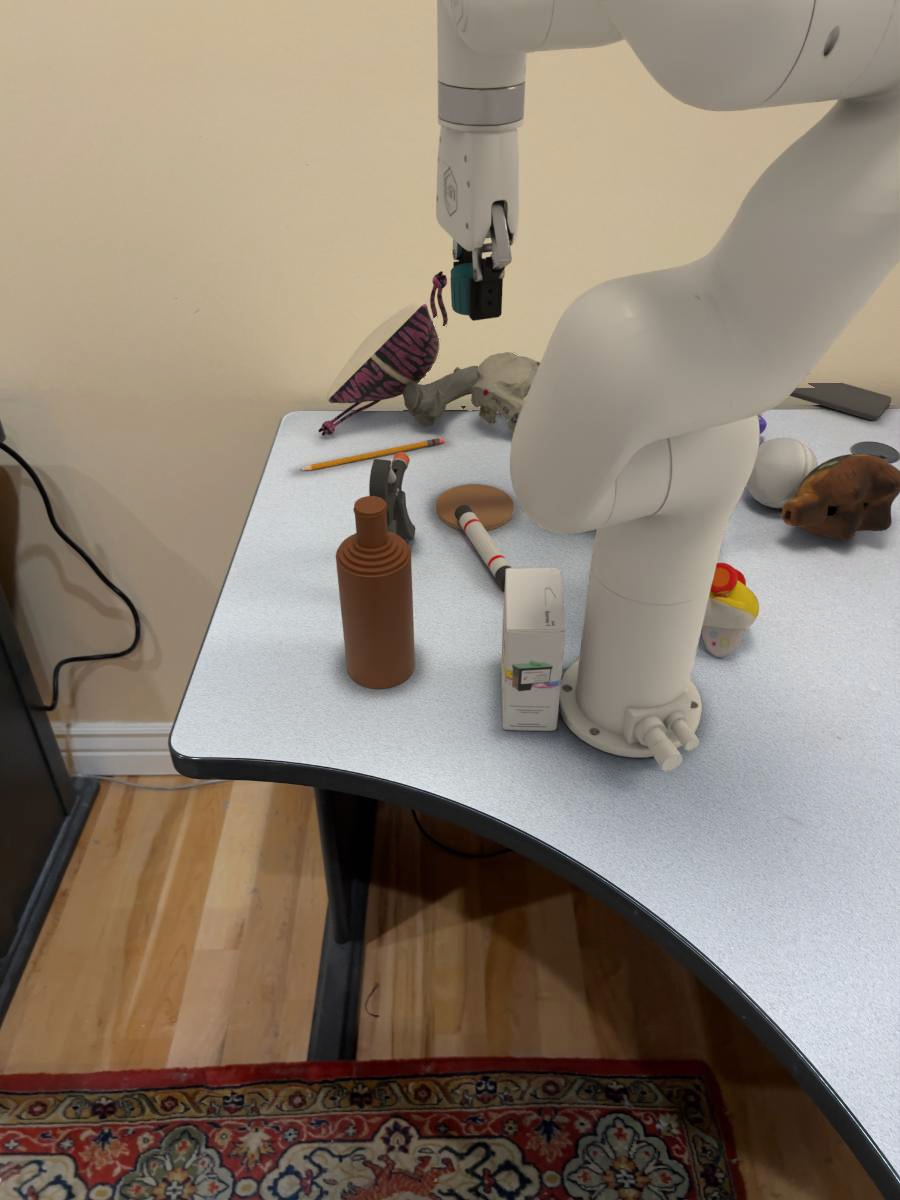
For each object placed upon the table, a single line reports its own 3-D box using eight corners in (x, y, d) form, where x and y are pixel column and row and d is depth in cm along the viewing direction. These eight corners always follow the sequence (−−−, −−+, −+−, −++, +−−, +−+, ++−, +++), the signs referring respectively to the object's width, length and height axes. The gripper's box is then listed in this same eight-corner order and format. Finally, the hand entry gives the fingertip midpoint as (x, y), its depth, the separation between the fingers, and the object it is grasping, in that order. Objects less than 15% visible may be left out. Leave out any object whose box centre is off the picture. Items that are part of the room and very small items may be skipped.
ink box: (499, 663, 87) (504, 563, 80) (552, 664, 87) (561, 564, 80) (500, 731, 81) (505, 629, 73) (557, 732, 80) (568, 630, 73)
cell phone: (893, 397, 127) (892, 402, 127) (795, 369, 133) (793, 374, 134) (877, 416, 122) (875, 421, 123) (776, 386, 128) (774, 391, 129)
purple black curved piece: (469, 306, 109) (504, 323, 127) (425, 253, 110) (466, 277, 128) (326, 447, 117) (378, 444, 135) (285, 397, 118) (342, 401, 136)
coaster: (525, 522, 105) (525, 518, 105) (450, 538, 103) (450, 533, 102) (496, 482, 112) (496, 478, 111) (425, 496, 109) (425, 491, 109)
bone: (398, 380, 118) (395, 424, 122) (434, 398, 115) (430, 442, 118) (508, 346, 132) (503, 386, 136) (544, 360, 129) (537, 401, 132)
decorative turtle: (947, 466, 96) (898, 430, 102) (819, 488, 92) (775, 449, 98) (917, 543, 102) (872, 505, 108) (795, 566, 99) (756, 525, 105)
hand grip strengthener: (417, 537, 103) (414, 415, 93) (391, 608, 93) (384, 481, 84) (397, 535, 103) (392, 413, 94) (369, 605, 94) (360, 479, 84)
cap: (461, 296, 94) (460, 260, 91) (497, 301, 92) (497, 265, 90) (445, 312, 91) (443, 275, 89) (481, 318, 90) (481, 281, 87)
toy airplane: (746, 666, 93) (612, 609, 99) (782, 585, 92) (644, 533, 98) (722, 662, 81) (572, 597, 87) (763, 569, 80) (609, 510, 87)
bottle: (424, 679, 86) (419, 517, 74) (357, 696, 84) (342, 533, 72) (403, 635, 90) (395, 477, 79) (339, 651, 89) (322, 491, 77)
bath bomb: (718, 483, 108) (765, 503, 112) (762, 506, 101) (810, 526, 105) (752, 419, 106) (798, 442, 110) (799, 438, 99) (846, 462, 103)
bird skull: (578, 448, 117) (578, 373, 111) (467, 444, 120) (462, 372, 114) (595, 367, 136) (596, 300, 130) (498, 365, 139) (495, 300, 133)
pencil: (444, 440, 118) (443, 444, 119) (443, 436, 118) (442, 439, 119) (299, 470, 113) (299, 474, 114) (298, 465, 113) (298, 469, 114)
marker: (454, 521, 104) (454, 506, 103) (470, 516, 105) (470, 502, 103) (510, 606, 94) (510, 592, 92) (527, 601, 94) (528, 587, 93)
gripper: (410, 87, 85) (415, 283, 97) (473, 130, 73) (470, 348, 85) (486, 81, 87) (482, 275, 99) (560, 122, 75) (545, 337, 87)
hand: (476, 307), depth 92 cm, fingers closed on cap, 3 cm apart
